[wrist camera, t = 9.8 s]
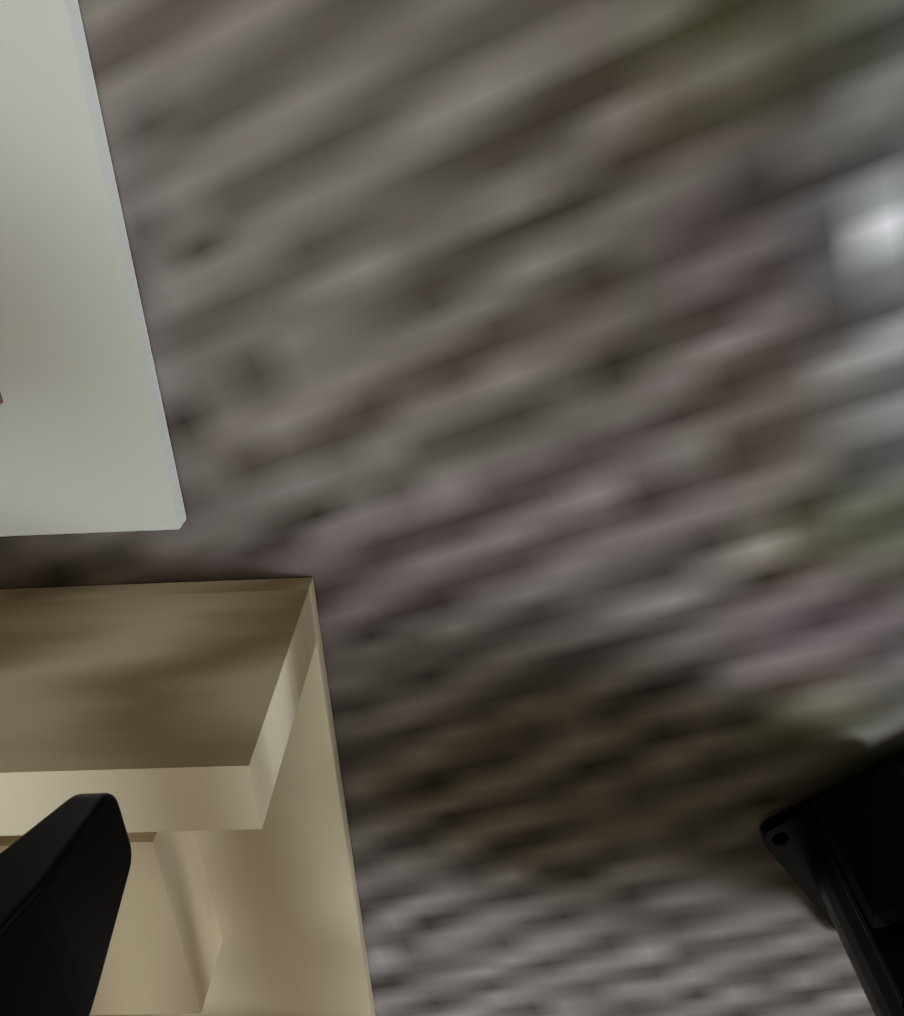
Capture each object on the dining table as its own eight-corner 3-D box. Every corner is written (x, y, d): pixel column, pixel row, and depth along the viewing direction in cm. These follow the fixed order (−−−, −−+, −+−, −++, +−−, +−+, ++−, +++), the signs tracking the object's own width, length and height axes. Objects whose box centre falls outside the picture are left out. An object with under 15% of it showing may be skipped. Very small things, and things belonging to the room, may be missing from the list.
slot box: (312, 577, 22) (249, 765, 15) (378, 1038, 30) (355, 1286, 24) (-346, 602, 22) (-666, 792, 16) (-106, 1046, 31) (-256, 1289, 24)
